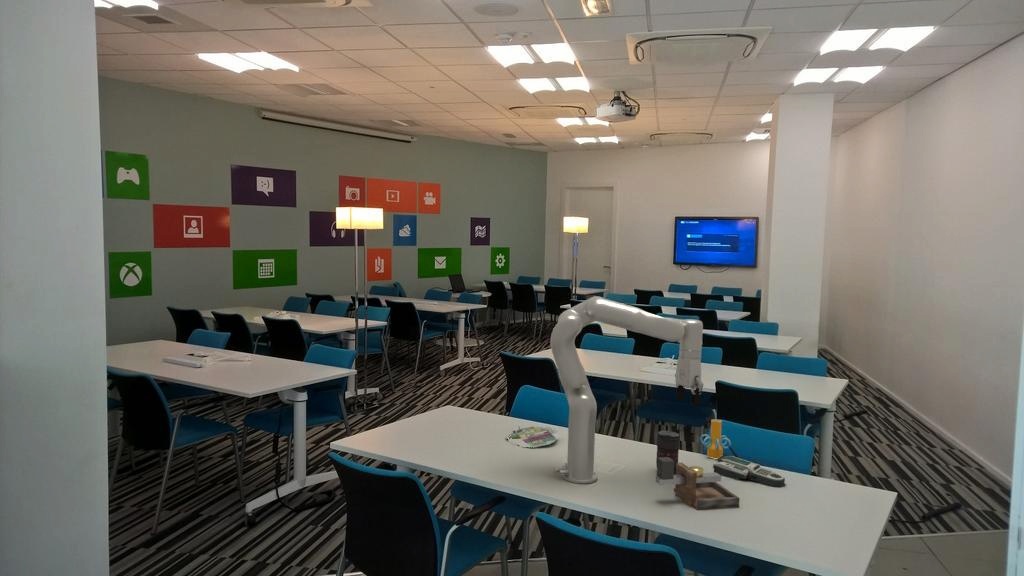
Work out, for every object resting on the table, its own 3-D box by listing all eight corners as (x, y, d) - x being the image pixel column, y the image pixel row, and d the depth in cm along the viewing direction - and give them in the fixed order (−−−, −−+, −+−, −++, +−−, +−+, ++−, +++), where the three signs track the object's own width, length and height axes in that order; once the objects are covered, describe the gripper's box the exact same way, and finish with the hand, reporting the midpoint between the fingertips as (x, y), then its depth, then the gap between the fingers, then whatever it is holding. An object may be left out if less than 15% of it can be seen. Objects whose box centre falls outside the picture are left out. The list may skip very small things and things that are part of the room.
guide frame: (694, 510, 202) (695, 476, 201) (670, 491, 218) (672, 459, 217) (739, 507, 206) (740, 473, 205) (712, 488, 221) (714, 457, 220)
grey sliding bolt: (660, 485, 205) (661, 461, 205) (655, 481, 209) (656, 457, 209) (721, 482, 210) (722, 458, 210) (715, 477, 214) (716, 454, 214)
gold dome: (693, 478, 208) (693, 471, 207) (686, 473, 212) (687, 466, 212) (705, 477, 209) (705, 470, 208) (698, 472, 213) (699, 465, 213)
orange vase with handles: (711, 463, 248) (713, 425, 247) (694, 454, 258) (695, 418, 257) (735, 459, 253) (737, 422, 252) (717, 451, 263) (719, 416, 262)
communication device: (777, 492, 221) (778, 468, 220) (711, 474, 236) (713, 451, 236) (788, 483, 230) (790, 459, 229) (725, 466, 245) (726, 444, 245)
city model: (493, 442, 275) (492, 428, 274) (535, 427, 289) (534, 414, 288) (528, 459, 255) (527, 444, 254) (572, 443, 269) (571, 429, 268)
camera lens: (678, 477, 231) (680, 437, 230) (655, 475, 232) (657, 435, 232) (677, 470, 239) (679, 431, 238) (655, 468, 240) (657, 429, 239)
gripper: (668, 350, 232) (665, 396, 233) (693, 358, 215) (690, 408, 216) (686, 350, 234) (684, 396, 235) (713, 358, 217) (710, 407, 218)
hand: (687, 402), depth 225 cm, fingers open, 9 cm apart
